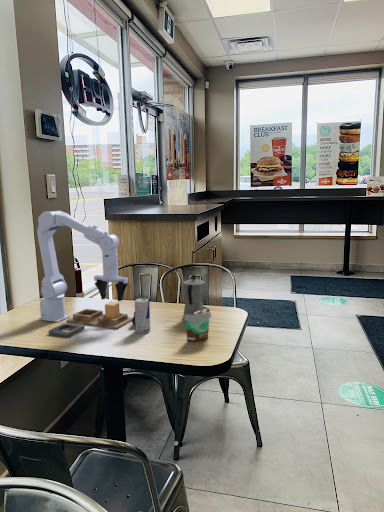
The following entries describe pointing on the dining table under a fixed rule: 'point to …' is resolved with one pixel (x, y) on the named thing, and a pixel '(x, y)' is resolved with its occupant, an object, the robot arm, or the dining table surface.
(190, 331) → the food container
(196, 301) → the coffeepot
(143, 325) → the energy drink
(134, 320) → the bolt
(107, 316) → the orange peg
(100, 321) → the walnut rack
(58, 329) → the metal socket
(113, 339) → the dining table surface
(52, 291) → the robot arm
